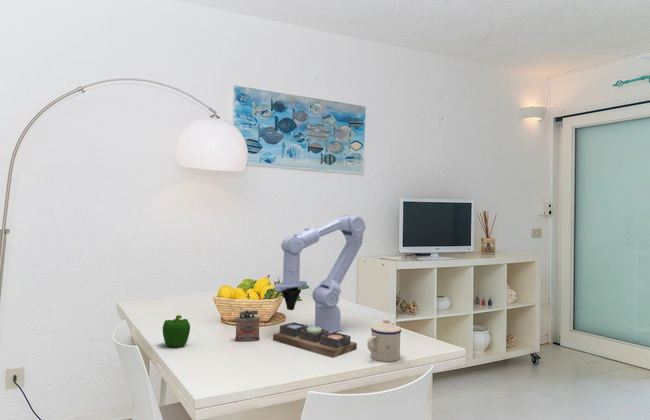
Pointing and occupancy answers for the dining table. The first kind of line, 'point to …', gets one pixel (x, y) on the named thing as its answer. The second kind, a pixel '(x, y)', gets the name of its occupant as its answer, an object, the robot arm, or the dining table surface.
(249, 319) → the lighter
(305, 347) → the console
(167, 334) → the bell pepper
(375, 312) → the dining table surface
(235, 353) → the dining table surface
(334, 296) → the robot arm
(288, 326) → the button slate
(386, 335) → the teacup with lid
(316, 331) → the button sage
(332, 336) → the button terracotta
